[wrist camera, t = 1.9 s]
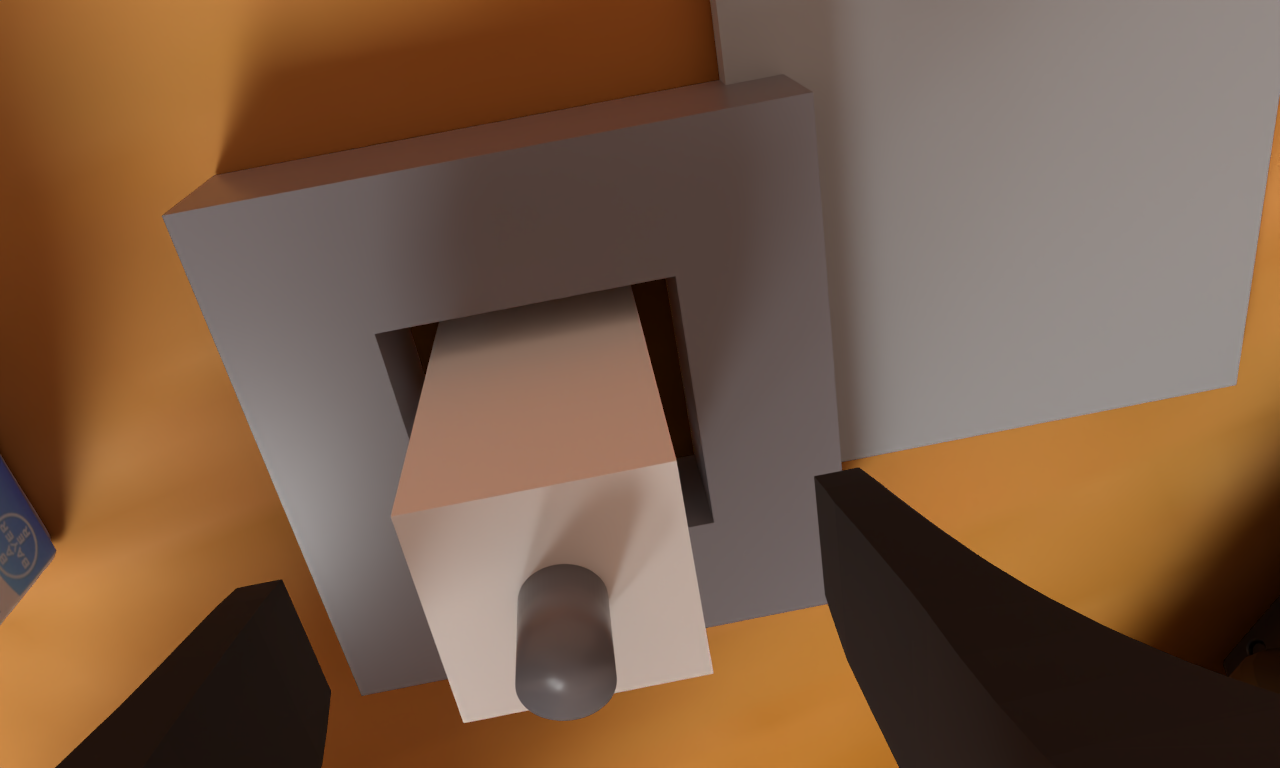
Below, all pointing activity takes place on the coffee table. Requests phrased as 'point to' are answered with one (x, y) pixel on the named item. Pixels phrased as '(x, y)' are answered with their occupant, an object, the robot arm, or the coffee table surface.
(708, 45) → the coffee table surface
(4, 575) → the medicine box
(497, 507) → the plug
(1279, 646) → the muzzle brake
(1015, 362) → the rubber pad
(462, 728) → the coffee table surface
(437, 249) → the socket block
